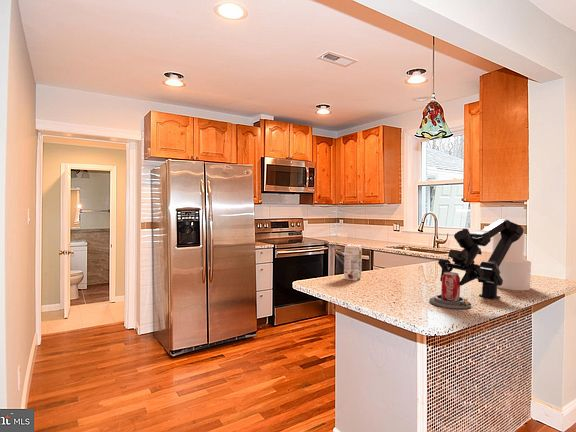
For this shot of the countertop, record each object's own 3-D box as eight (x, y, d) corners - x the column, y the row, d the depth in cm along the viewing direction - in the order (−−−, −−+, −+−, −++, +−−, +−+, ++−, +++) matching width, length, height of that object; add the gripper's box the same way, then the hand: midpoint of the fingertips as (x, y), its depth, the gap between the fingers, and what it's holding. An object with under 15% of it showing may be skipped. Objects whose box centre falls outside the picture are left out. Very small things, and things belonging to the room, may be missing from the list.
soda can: (463, 303, 147) (463, 274, 147) (446, 303, 147) (447, 275, 146) (453, 299, 154) (454, 271, 154) (437, 299, 154) (438, 271, 153)
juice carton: (357, 281, 192) (357, 246, 191) (342, 279, 197) (343, 245, 196) (362, 279, 198) (363, 245, 198) (348, 277, 203) (348, 243, 202)
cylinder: (483, 283, 191) (485, 231, 190) (507, 281, 197) (509, 231, 196) (512, 291, 175) (514, 234, 174) (538, 289, 180) (540, 234, 179)
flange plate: (445, 297, 161) (445, 288, 161) (479, 306, 148) (479, 296, 147) (421, 301, 153) (421, 292, 153) (454, 311, 140) (455, 301, 139)
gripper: (441, 240, 160) (423, 266, 156) (480, 245, 144) (461, 274, 139) (452, 257, 164) (435, 283, 160) (491, 263, 148) (473, 292, 143)
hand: (450, 282), depth 150 cm, fingers open, 9 cm apart
